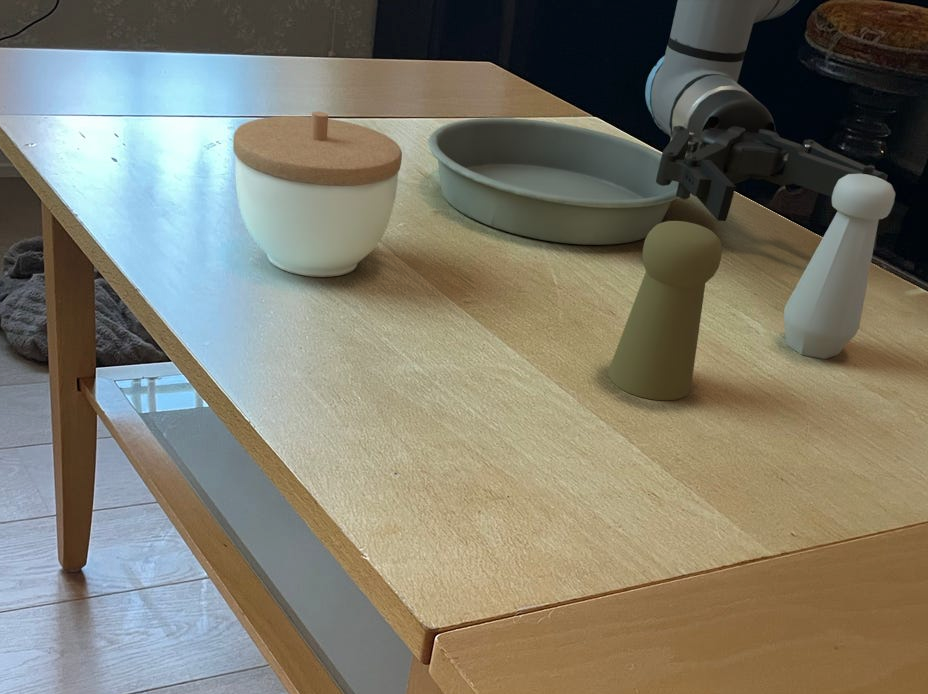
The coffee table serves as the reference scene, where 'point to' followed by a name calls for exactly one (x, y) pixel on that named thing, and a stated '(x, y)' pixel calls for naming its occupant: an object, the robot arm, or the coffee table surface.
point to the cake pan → (551, 180)
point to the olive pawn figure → (666, 312)
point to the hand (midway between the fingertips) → (806, 211)
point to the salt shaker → (838, 270)
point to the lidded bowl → (315, 190)
